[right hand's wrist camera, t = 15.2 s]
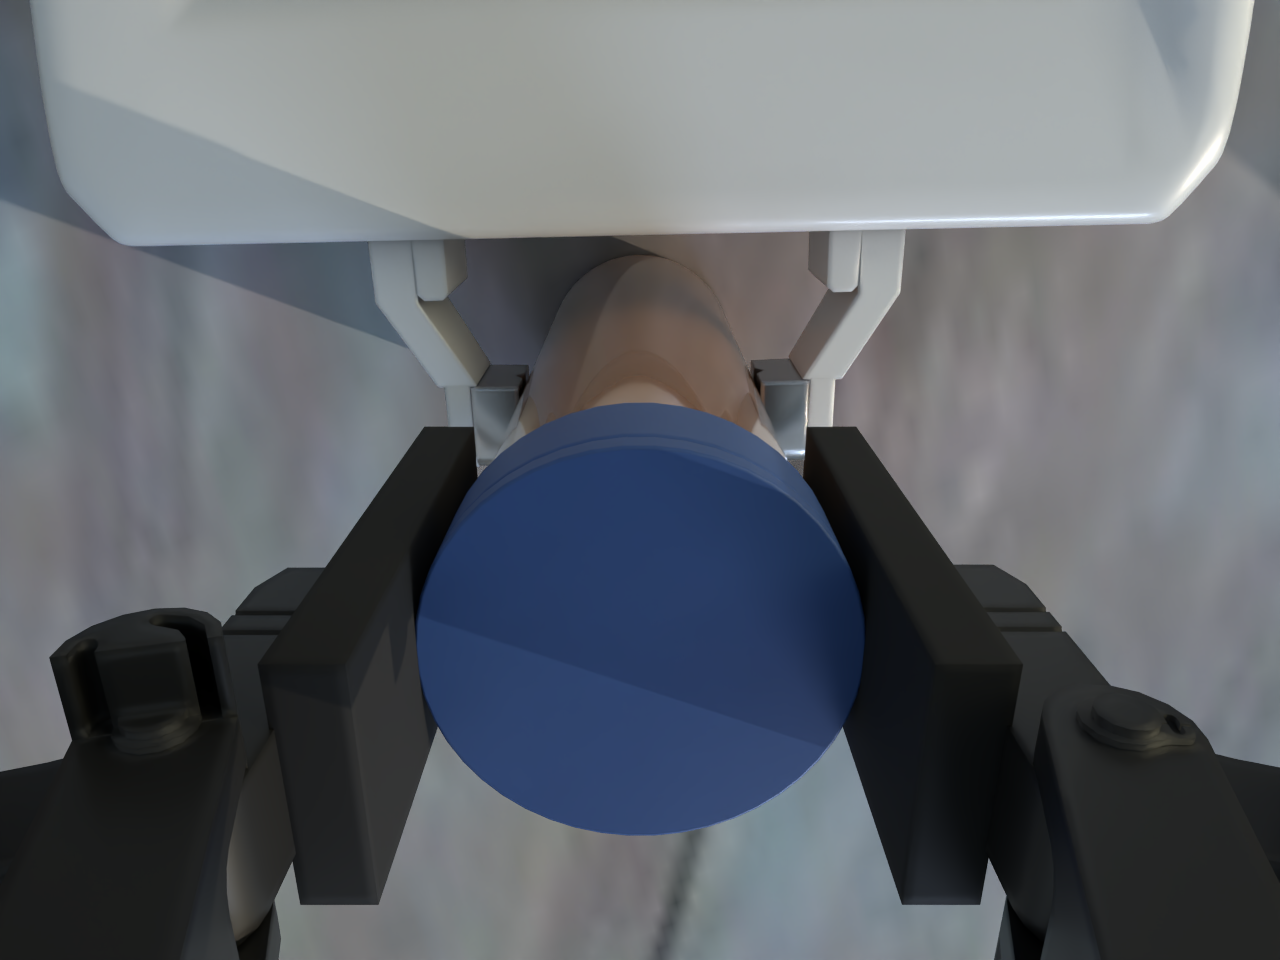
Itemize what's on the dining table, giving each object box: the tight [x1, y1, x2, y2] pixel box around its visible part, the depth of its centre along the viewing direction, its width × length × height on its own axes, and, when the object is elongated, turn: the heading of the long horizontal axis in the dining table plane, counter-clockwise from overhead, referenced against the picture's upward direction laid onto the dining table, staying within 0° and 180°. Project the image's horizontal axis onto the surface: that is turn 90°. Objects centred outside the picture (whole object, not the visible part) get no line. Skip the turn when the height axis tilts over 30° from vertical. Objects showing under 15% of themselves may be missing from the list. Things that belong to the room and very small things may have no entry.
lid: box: [415, 403, 865, 835], centre depth 11 cm, size 5×5×2 cm
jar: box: [492, 255, 788, 462], centre depth 18 cm, size 5×5×15 cm
